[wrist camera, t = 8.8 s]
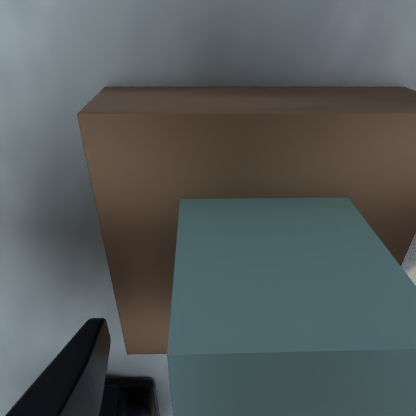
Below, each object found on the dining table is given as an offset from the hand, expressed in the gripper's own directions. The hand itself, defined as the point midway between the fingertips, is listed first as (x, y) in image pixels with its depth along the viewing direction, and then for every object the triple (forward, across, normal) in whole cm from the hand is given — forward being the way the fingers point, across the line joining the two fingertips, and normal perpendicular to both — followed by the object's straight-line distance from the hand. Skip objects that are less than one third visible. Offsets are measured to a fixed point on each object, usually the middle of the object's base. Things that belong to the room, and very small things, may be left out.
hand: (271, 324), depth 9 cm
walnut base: (+6, 0, 0) cm, 6 cm away
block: (+2, 0, 0) cm, 2 cm away
